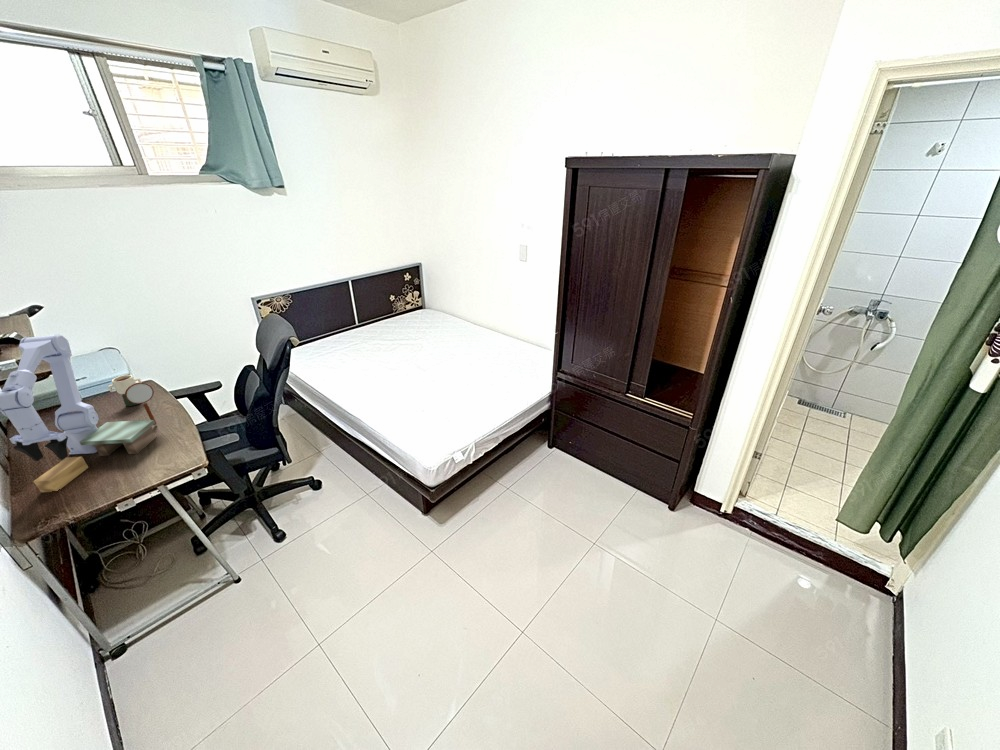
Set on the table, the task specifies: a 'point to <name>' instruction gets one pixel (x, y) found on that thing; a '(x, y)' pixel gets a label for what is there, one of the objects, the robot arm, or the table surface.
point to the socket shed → (121, 436)
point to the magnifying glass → (140, 396)
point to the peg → (61, 474)
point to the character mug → (123, 386)
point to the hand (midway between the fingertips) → (51, 458)
